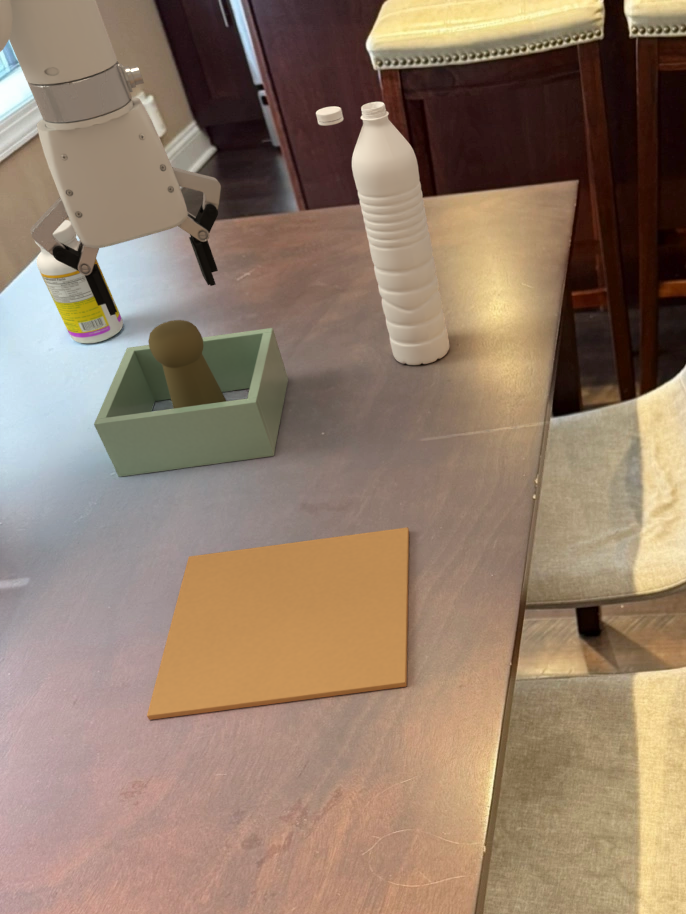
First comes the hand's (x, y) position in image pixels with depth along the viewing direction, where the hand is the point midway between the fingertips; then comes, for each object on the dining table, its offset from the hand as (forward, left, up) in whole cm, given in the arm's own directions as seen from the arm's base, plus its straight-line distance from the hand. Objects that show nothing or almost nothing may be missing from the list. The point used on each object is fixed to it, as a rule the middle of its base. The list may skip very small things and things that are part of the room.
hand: (161, 295), depth 97 cm
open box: (0, 0, -14) cm, 14 cm away
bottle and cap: (+22, +10, -14) cm, 28 cm away
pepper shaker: (0, 0, -14) cm, 14 cm away
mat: (+12, -34, -14) cm, 39 cm away
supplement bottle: (-18, +27, -14) cm, 35 cm away
